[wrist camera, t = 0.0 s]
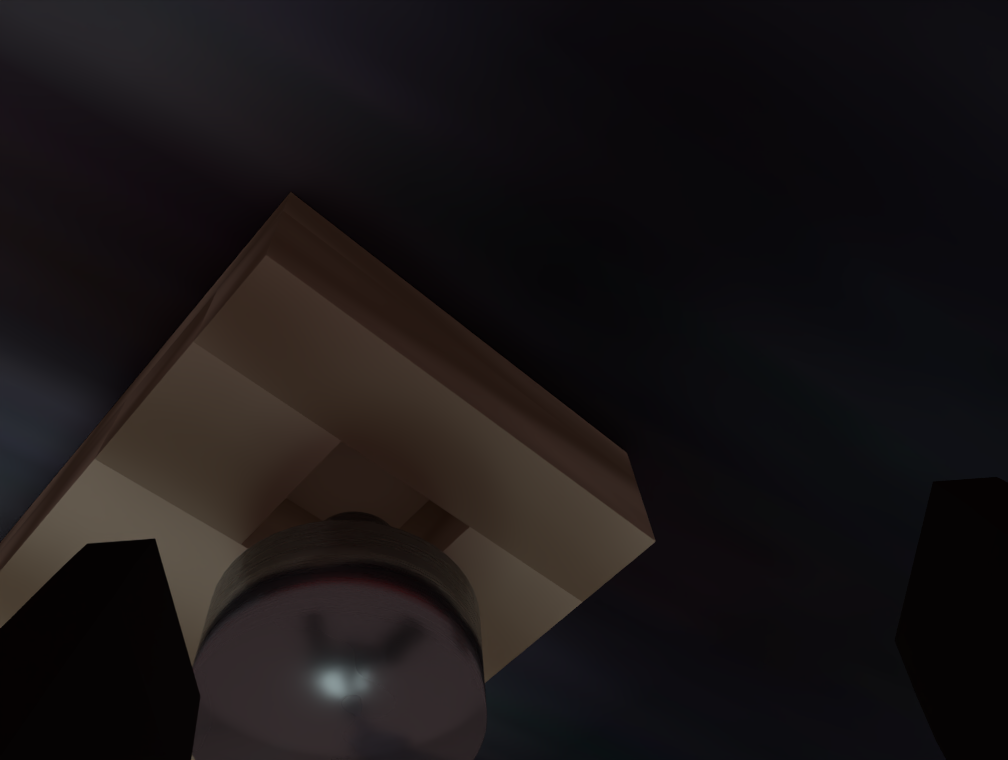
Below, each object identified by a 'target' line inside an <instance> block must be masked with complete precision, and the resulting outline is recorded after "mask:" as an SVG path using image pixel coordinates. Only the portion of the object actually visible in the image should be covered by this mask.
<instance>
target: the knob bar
mask: <svg viewBox="0 0 1008 760" xmlns="http://www.w3.org/2000/svg"><path fill="white" fill-rule="evenodd" d="M343 512H364V513H369V514H372V515H375V516H377V517H379V518H381V519H382V520H384V521H385V522H387V523H388V524H389V525H390V526H391V527H394V528H398V529H401V530H404V531H406V532H409V533H411V534H413V535H416V536H418V537H420V538H422V539H424V540H426V541H427V542H429V543H431V544H433V545H434V546H436V547H437V548H438V549H440V550H441V551H442V552H444V553H445V554H446V555H448V556H449V557H450V558H451V559H452V560H453V561H454V562H455V563H456V564H457V565H458V566H459V568H460V569H461V570H462V571H463V573H464V574H465V575H466V577H467V578H468V580H469V582H470V584H471V586H472V587H473V589H474V592H475V595H476V598H477V601H478V605H479V611H480V621H481V636H482V651H483V665H484V680H485V682H487V681H488V680H489V679H490V678H491V677H493V676H494V675H495V674H496V673H497V672H499V671H500V670H501V669H502V668H503V667H505V666H506V665H507V664H508V663H509V662H511V661H512V660H513V659H514V658H515V657H517V656H518V655H519V654H520V653H522V652H523V651H524V650H525V649H526V648H528V647H529V646H530V645H531V644H532V643H534V642H535V641H536V640H537V639H538V638H540V637H541V636H542V635H543V634H544V633H546V632H547V631H548V630H549V629H550V628H552V627H553V626H554V625H555V624H557V623H558V622H559V621H560V620H561V619H563V618H564V617H565V616H566V615H567V614H569V613H570V612H571V611H572V610H573V609H575V608H576V607H577V606H578V605H579V604H581V603H582V602H583V601H584V600H586V599H587V598H588V597H589V596H590V595H592V594H593V593H594V592H595V591H596V590H598V589H599V588H600V587H601V586H602V585H604V584H605V583H606V582H607V581H608V580H610V579H611V578H612V577H613V576H614V575H616V574H617V573H618V572H619V571H621V570H622V569H623V568H624V567H625V566H627V565H628V564H629V563H630V562H631V561H633V560H634V559H635V558H636V557H637V556H639V555H640V554H641V553H642V552H643V551H645V550H646V549H647V548H648V547H650V546H651V545H652V544H653V543H654V542H656V541H655V538H654V535H653V532H652V529H651V526H650V523H649V519H648V516H647V513H646V510H645V507H644V504H643V501H642V498H641V495H640V492H639V489H638V486H637V483H636V480H635V476H634V473H633V470H632V467H631V464H630V461H629V458H628V455H627V453H626V452H625V451H624V450H622V449H621V448H620V447H619V446H617V445H616V444H615V443H613V442H612V441H611V440H610V439H608V438H607V437H606V436H604V435H603V434H602V433H601V432H599V431H598V430H597V429H595V428H594V427H593V426H592V425H590V424H589V423H588V422H586V421H585V420H584V419H583V418H581V417H580V416H579V415H577V414H576V413H575V412H574V411H572V410H571V409H570V408H568V407H567V406H566V405H565V404H563V403H562V402H561V401H559V400H558V399H557V398H556V397H554V396H553V395H552V394H550V393H549V392H548V391H546V390H545V389H544V388H543V387H541V386H540V385H539V384H537V383H536V382H535V381H534V380H532V379H531V378H530V377H528V376H527V375H526V374H525V373H523V372H522V371H521V370H519V369H518V368H517V367H516V366H514V365H513V364H512V363H510V362H509V361H508V360H507V359H505V358H504V357H503V356H501V355H500V354H499V353H498V352H496V351H495V350H494V349H492V348H491V347H490V346H489V345H487V344H486V343H485V342H483V341H482V340H481V339H480V338H478V337H477V336H476V335H474V334H473V333H472V332H470V331H469V330H468V329H467V328H465V327H464V326H463V325H461V324H460V323H459V322H458V321H456V320H455V319H454V318H452V317H451V316H450V315H449V314H447V313H446V312H445V311H443V310H442V309H441V308H440V307H438V306H437V305H436V304H434V303H433V302H432V301H431V300H429V299H428V298H427V297H425V296H424V295H423V294H422V293H420V292H419V291H418V290H416V289H415V288H414V287H413V286H411V285H410V284H409V283H407V282H406V281H405V280H404V279H402V278H401V277H400V276H398V275H397V274H396V273H394V272H393V271H392V270H391V269H389V268H388V267H387V266H385V265H384V264H383V263H382V262H380V261H379V260H378V259H376V258H375V257H374V256H373V255H371V254H370V253H369V252H367V251H366V250H365V249H364V248H362V247H361V246H360V245H358V244H357V243H356V242H355V241H353V240H352V239H351V238H349V237H348V236H347V235H346V234H344V233H343V232H342V231H340V230H339V229H338V228H337V227H335V226H334V225H333V224H331V223H330V222H329V221H328V220H326V219H325V218H324V217H322V216H321V215H320V214H319V213H317V212H316V211H315V210H313V209H312V208H311V207H309V206H308V205H307V204H306V203H304V202H303V201H302V200H300V199H299V198H298V197H297V196H295V195H294V194H293V193H291V192H290V193H289V195H288V196H287V197H286V198H285V199H284V201H283V202H282V203H281V204H280V205H279V207H278V208H277V209H276V210H275V211H274V213H273V214H272V215H271V216H270V218H269V219H268V220H267V221H266V222H265V224H264V225H263V226H262V227H261V228H260V230H259V231H258V232H257V233H256V234H255V236H254V237H253V238H252V239H251V240H250V242H249V243H248V244H247V245H246V247H245V248H244V249H243V250H242V251H241V253H240V254H239V255H238V256H237V257H236V259H235V260H234V261H233V262H232V263H231V265H230V266H229V267H228V268H227V269H226V271H225V272H224V273H223V274H222V276H221V277H220V278H219V279H218V280H217V282H216V283H215V284H214V285H213V286H212V288H211V289H210V290H209V291H208V292H207V294H206V295H205V296H204V297H203V298H202V300H201V301H200V302H199V303H198V305H197V306H196V307H195V308H194V309H193V311H192V312H191V313H190V314H189V315H188V317H187V318H186V319H185V320H184V321H183V323H182V324H181V325H180V326H179V327H178V329H177V330H176V331H175V332H174V333H173V335H172V336H171V337H170V338H169V340H168V341H167V342H166V343H165V344H164V346H163V347H162V348H161V349H160V350H159V352H158V353H157V354H156V355H155V356H154V358H153V359H152V360H151V361H150V362H149V364H148V365H147V366H146V367H145V369H144V370H143V371H142V372H141V373H140V375H139V376H138V377H137V378H136V379H135V381H134V382H133V383H132V384H131V385H130V387H129V388H128V389H127V390H126V391H125V393H124V394H123V395H122V396H121V398H120V399H119V400H118V401H117V402H116V404H115V405H114V406H113V407H112V408H111V410H110V411H109V412H108V413H107V414H106V416H105V417H104V418H103V419H102V420H101V422H100V423H99V424H98V425H97V427H96V428H95V429H94V430H93V431H92V433H91V434H90V435H89V436H88V437H87V439H86V440H85V441H84V442H83V443H82V445H81V446H80V447H79V448H78V449H77V451H76V452H75V453H74V454H73V456H72V457H71V458H70V459H69V460H68V462H67V463H66V464H65V465H64V466H63V468H62V469H61V470H60V471H59V472H58V474H57V475H56V476H55V477H54V478H53V480H52V481H51V482H50V483H49V485H48V486H47V487H46V488H45V489H44V491H43V492H42V493H41V494H40V495H39V497H38V498H37V499H36V500H35V501H34V503H33V504H32V505H31V506H30V507H29V509H28V510H27V511H26V512H25V513H24V515H23V516H22V517H21V518H20V520H19V521H18V522H17V523H16V524H15V526H14V527H13V528H12V529H11V530H10V532H9V533H8V534H7V535H6V536H5V538H4V539H3V540H2V541H1V542H0V628H1V627H2V626H3V625H4V624H5V623H6V622H7V621H8V620H9V619H10V618H11V617H12V616H13V615H14V614H15V613H16V612H17V611H18V610H19V609H20V608H21V607H22V606H23V605H24V604H25V603H26V602H27V601H28V600H29V599H30V598H31V597H32V596H33V595H34V594H35V593H36V592H37V591H38V590H39V589H40V588H41V587H42V586H43V585H44V584H45V583H46V582H47V581H48V580H49V579H50V578H51V577H52V576H53V575H54V574H55V573H56V572H58V571H59V570H60V569H61V568H62V567H63V566H64V565H65V564H66V563H67V562H68V561H69V560H70V559H71V558H72V557H73V556H74V555H75V554H76V553H77V552H79V551H80V550H81V549H82V548H83V547H84V546H85V545H86V544H87V543H100V542H114V541H128V540H142V539H156V543H157V546H158V550H159V553H160V557H161V560H162V564H163V567H164V571H165V574H166V578H167V581H168V585H169V588H170V592H171V595H172V599H173V602H174V606H175V609H176V612H177V616H178V619H179V623H180V626H181V630H182V633H183V637H184V640H185V644H186V647H187V651H188V654H189V658H190V661H191V665H192V666H193V663H194V659H195V656H196V652H197V648H198V645H199V641H200V638H201V634H202V631H203V627H204V624H205V620H206V617H207V613H208V610H209V606H210V603H211V599H212V596H213V593H214V591H215V588H216V586H217V584H218V582H219V580H220V579H221V577H222V575H223V573H224V572H225V571H226V570H227V568H228V567H229V566H230V565H231V564H232V562H233V561H234V560H235V559H236V558H238V557H239V556H240V555H241V554H242V553H243V552H244V551H245V550H247V549H248V548H250V547H251V546H253V545H254V544H256V543H257V542H259V541H261V540H263V539H265V538H267V537H269V536H271V535H273V534H275V533H277V532H280V531H283V530H285V529H288V528H291V527H295V526H299V525H303V524H307V523H313V522H321V521H324V520H326V519H327V518H329V517H331V516H333V515H336V514H339V513H343ZM191 760H195V758H194V757H193V755H192V757H191Z"/></svg>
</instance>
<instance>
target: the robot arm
mask: <svg viewBox="0 0 1008 760" xmlns="http://www.w3.org/2000/svg"><path fill="white" fill-rule="evenodd" d="M895 642H896V645H897V647H898V650H899V652H900V655H901V657H902V660H903V663H904V665H905V668H906V670H907V673H908V675H909V678H910V680H911V683H912V685H913V688H914V691H915V693H916V696H917V698H918V700H919V702H920V705H921V707H922V709H923V712H924V714H925V716H926V719H927V721H928V723H929V726H930V728H931V730H932V733H933V735H934V737H935V739H936V741H937V743H938V745H939V747H940V749H941V751H942V752H943V754H944V756H945V758H946V760H1008V483H1007V482H1005V481H1004V480H1002V479H1000V478H997V477H991V478H977V479H964V480H950V481H936V482H933V484H932V489H931V493H930V497H929V501H928V505H927V509H926V513H925V517H924V522H923V526H922V530H921V534H920V538H919V542H918V546H917V551H916V555H915V559H914V563H913V567H912V571H911V575H910V579H909V584H908V588H907V592H906V596H905V600H904V604H903V608H902V612H901V617H900V621H899V625H898V629H897V633H896V637H895ZM200 697H201V696H200V692H199V689H198V686H197V682H196V679H195V675H194V672H193V668H192V665H191V661H190V658H189V654H188V651H187V647H186V644H185V640H184V637H183V633H182V630H181V626H180V623H179V619H178V616H177V612H176V609H175V606H174V602H173V599H172V595H171V592H170V588H169V585H168V581H167V578H166V574H165V571H164V567H163V564H162V560H161V557H160V553H159V550H158V546H157V543H156V539H142V540H128V541H114V542H100V543H87V544H86V545H85V546H84V547H83V548H82V549H81V550H80V551H79V552H77V553H76V554H75V555H74V556H73V557H72V558H71V559H70V560H69V561H68V562H67V563H66V564H65V565H64V566H63V567H62V568H61V569H60V570H59V571H58V572H56V573H55V574H54V575H53V576H52V577H51V578H50V579H49V580H48V581H47V582H46V583H45V584H44V585H43V586H42V587H41V588H40V589H39V590H38V591H37V592H36V593H35V594H34V595H33V596H32V597H31V598H30V599H29V600H28V601H27V602H26V603H25V604H24V605H23V606H22V607H21V608H20V609H19V610H18V611H17V612H16V613H15V614H14V615H13V616H12V617H11V618H10V619H9V620H8V621H7V622H6V623H5V624H4V625H3V626H2V627H1V628H0V760H191V757H192V751H193V744H194V737H195V731H196V724H197V717H198V710H199V703H200Z"/></svg>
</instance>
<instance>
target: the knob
mask: <svg viewBox="0 0 1008 760" xmlns="http://www.w3.org/2000/svg"><path fill="white" fill-rule="evenodd" d="M192 668H193V672H194V675H195V679H196V682H197V686H198V689H199V692H200V696H201V697H200V703H199V710H198V717H197V724H196V731H195V737H194V744H193V751H192V755H193V757H194V758H195V760H473V759H474V758H475V756H476V754H477V753H478V751H479V749H480V746H481V744H482V741H483V739H484V735H485V730H486V722H487V709H486V695H485V680H484V665H483V651H482V636H481V621H480V611H479V605H478V601H477V598H476V595H475V592H474V589H473V587H472V586H471V584H470V582H469V580H468V578H467V577H466V575H465V574H464V573H463V571H462V570H461V569H460V568H459V566H458V565H457V564H456V563H455V562H454V561H453V560H452V559H451V558H450V557H449V556H448V555H446V554H445V553H444V552H442V551H441V550H440V549H438V548H437V547H436V546H434V545H433V544H431V543H429V542H427V541H426V540H424V539H422V538H420V537H418V536H416V535H413V534H411V533H409V532H406V531H404V530H401V529H398V528H394V527H391V526H390V525H389V524H388V523H387V522H385V521H384V520H382V519H381V518H379V517H377V516H375V515H372V514H369V513H364V512H343V513H339V514H336V515H333V516H331V517H329V518H327V519H326V520H324V521H321V522H313V523H307V524H303V525H299V526H295V527H291V528H288V529H285V530H283V531H280V532H277V533H275V534H273V535H271V536H269V537H267V538H265V539H263V540H261V541H259V542H257V543H256V544H254V545H253V546H251V547H250V548H248V549H247V550H245V551H244V552H243V553H242V554H241V555H240V556H239V557H238V558H236V559H235V560H234V561H233V562H232V564H231V565H230V566H229V567H228V568H227V570H226V571H225V572H224V573H223V575H222V577H221V579H220V580H219V582H218V584H217V586H216V588H215V591H214V593H213V596H212V599H211V603H210V606H209V610H208V613H207V617H206V620H205V624H204V627H203V631H202V634H201V638H200V641H199V645H198V648H197V652H196V656H195V659H194V663H193V666H192Z"/></svg>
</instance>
